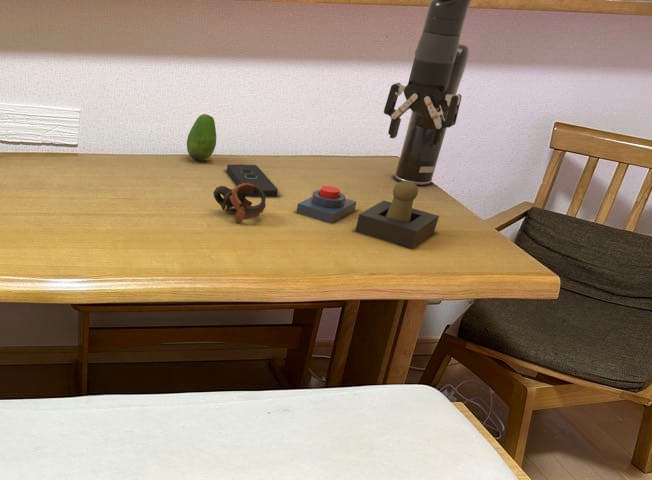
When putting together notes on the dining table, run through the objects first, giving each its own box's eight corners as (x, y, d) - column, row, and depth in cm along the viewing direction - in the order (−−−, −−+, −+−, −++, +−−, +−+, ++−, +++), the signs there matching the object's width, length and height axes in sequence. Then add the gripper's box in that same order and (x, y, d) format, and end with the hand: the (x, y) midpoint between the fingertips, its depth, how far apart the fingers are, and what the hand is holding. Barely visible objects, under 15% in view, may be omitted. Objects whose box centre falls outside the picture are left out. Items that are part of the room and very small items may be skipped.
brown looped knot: (261, 211, 174) (273, 187, 167) (251, 241, 170) (263, 218, 163) (212, 192, 174) (223, 167, 167) (201, 221, 170) (212, 197, 162)
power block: (320, 200, 182) (323, 184, 179) (354, 210, 177) (358, 194, 175) (296, 212, 174) (299, 195, 171) (331, 223, 169) (335, 206, 167)
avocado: (215, 165, 200) (220, 118, 193) (185, 163, 200) (190, 116, 193) (212, 156, 207) (218, 111, 200) (184, 154, 207) (188, 109, 200)
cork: (409, 238, 164) (423, 189, 158) (381, 235, 165) (394, 185, 159) (406, 228, 169) (420, 180, 163) (379, 225, 170) (391, 177, 163)
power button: (324, 191, 176) (326, 184, 175) (341, 196, 174) (343, 189, 173) (315, 196, 173) (317, 188, 172) (333, 201, 171) (334, 193, 170)
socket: (379, 217, 174) (383, 200, 172) (433, 232, 168) (439, 215, 166) (354, 231, 166) (359, 214, 164) (411, 248, 159) (416, 230, 157)
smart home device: (256, 164, 197) (279, 190, 181) (255, 170, 198) (278, 197, 182) (226, 163, 196) (246, 189, 180) (225, 170, 197) (245, 196, 181)
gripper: (477, 61, 146) (452, 146, 156) (407, 49, 153) (387, 131, 163) (464, 66, 141) (439, 153, 151) (392, 54, 148) (372, 137, 158)
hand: (412, 141), depth 157 cm, fingers open, 8 cm apart
